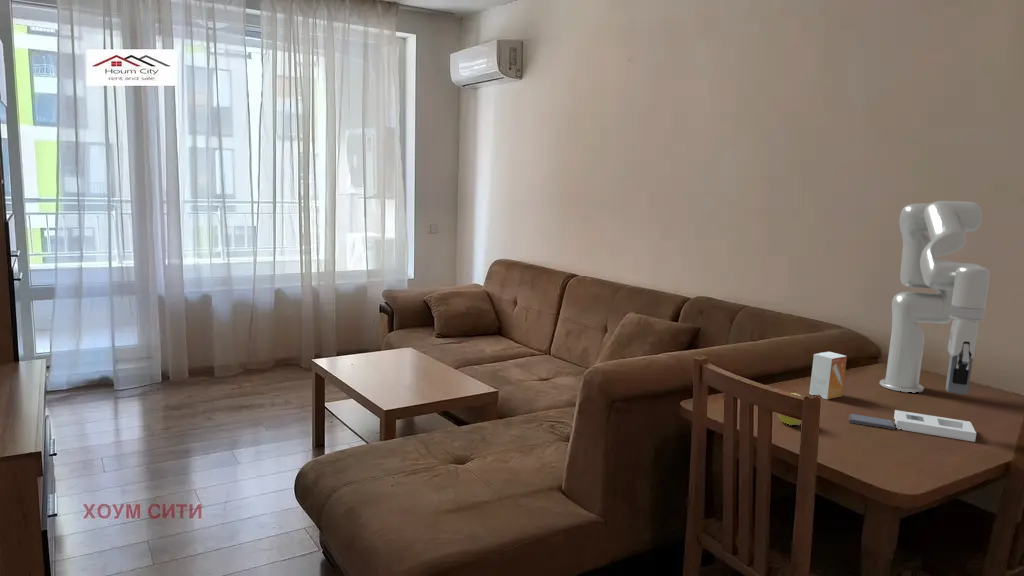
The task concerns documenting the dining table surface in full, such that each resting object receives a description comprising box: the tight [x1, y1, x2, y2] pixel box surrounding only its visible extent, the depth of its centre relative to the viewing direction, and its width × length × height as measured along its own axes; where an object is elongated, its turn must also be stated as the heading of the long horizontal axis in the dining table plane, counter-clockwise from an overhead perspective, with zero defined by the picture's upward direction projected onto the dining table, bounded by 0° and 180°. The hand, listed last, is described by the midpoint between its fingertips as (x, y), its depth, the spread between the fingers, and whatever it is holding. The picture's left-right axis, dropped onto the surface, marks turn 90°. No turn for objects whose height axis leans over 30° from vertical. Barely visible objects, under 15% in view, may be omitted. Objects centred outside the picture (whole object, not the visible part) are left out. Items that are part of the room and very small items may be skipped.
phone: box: [848, 413, 896, 431], centre depth 192 cm, size 6×11×1 cm, turn 65°
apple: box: [777, 390, 802, 427], centre depth 188 cm, size 8×8×10 cm
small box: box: [809, 351, 848, 400], centre depth 215 cm, size 8×6×13 cm
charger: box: [945, 354, 974, 396], centre depth 184 cm, size 4×4×10 cm
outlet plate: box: [893, 409, 977, 443], centre depth 188 cm, size 10×18×3 cm, turn 64°
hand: (958, 380), depth 184 cm, fingers closed on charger, 4 cm apart
